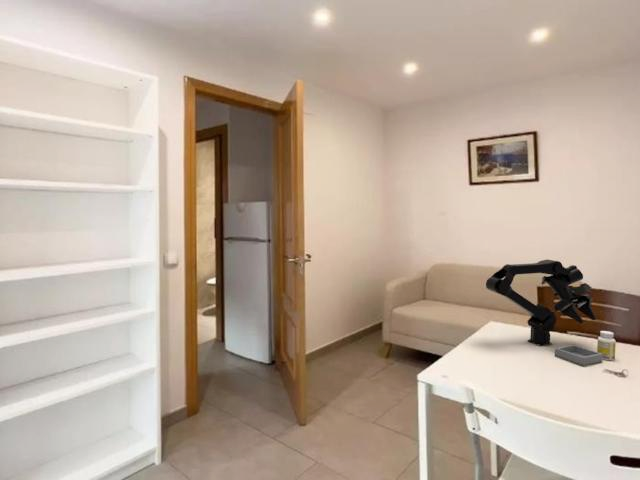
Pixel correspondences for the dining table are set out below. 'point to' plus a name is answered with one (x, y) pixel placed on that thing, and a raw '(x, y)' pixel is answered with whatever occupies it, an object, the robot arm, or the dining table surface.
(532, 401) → the dining table surface
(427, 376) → the dining table surface
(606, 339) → the supplement bottle
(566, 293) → the robot arm
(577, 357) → the tray
